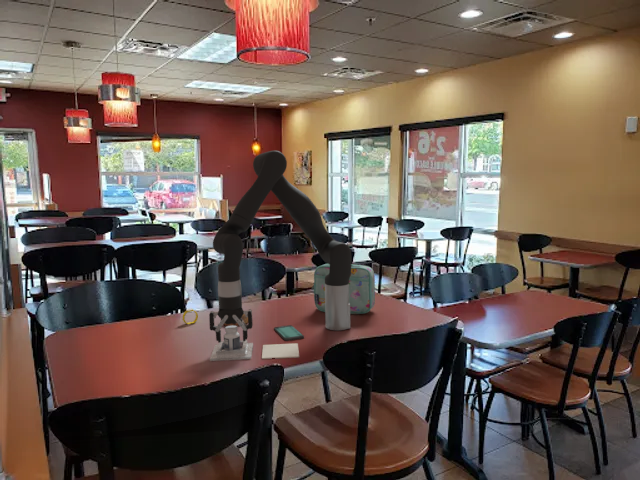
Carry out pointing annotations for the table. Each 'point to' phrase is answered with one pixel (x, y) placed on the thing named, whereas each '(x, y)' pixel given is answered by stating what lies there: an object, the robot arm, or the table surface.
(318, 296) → the lunch box
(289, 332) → the smartphone
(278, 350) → the mat
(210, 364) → the table surface
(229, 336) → the pill bottle
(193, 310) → the yellow ring
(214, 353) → the square frame
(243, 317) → the bell
